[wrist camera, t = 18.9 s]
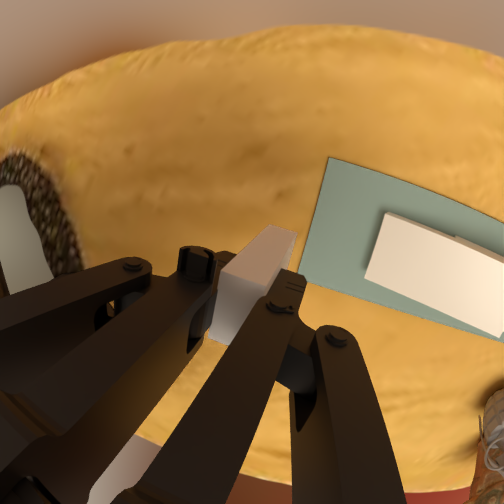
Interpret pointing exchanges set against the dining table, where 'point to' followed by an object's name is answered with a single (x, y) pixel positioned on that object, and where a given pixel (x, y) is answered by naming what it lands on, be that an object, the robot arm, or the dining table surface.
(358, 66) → the dining table surface
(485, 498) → the figurine
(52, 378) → the robot arm
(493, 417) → the hand grenade
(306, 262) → the strip
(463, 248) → the domino
